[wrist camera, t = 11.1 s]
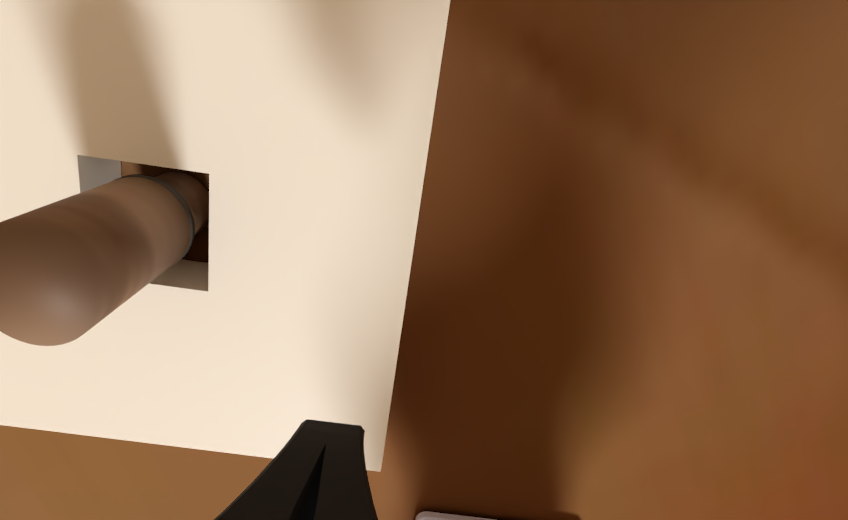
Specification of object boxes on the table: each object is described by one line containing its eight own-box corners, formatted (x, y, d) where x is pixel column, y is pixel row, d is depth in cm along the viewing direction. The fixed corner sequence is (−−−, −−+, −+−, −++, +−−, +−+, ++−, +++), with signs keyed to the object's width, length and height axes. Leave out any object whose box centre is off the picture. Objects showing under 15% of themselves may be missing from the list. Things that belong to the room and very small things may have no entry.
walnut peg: (221, 250, 21) (104, 355, 13) (137, 238, 21) (-30, 336, 13) (223, 168, 20) (96, 232, 12) (134, 155, 20) (-50, 210, 12)
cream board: (385, 431, 24) (380, 471, 21) (-30, 378, 23) (-83, 414, 20) (451, -17, 17) (454, -30, 15) (-114, -109, 17) (-203, -138, 14)
